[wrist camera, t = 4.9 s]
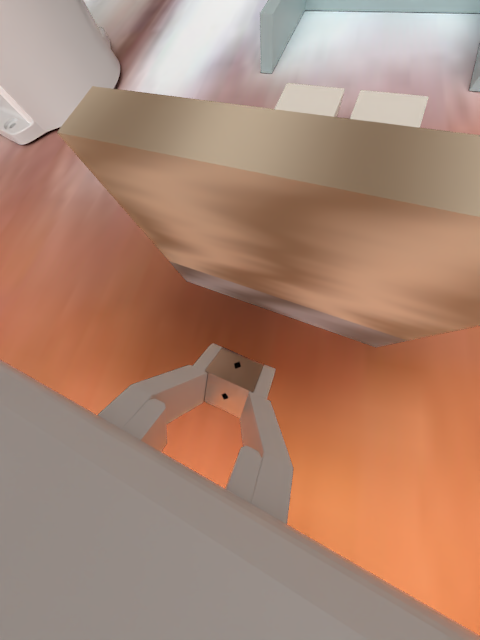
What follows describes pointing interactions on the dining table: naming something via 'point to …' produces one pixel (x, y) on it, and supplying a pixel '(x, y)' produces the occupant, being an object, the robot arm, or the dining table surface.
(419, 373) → the dining table surface
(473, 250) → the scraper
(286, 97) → the cream block
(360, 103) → the cream block
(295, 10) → the tray
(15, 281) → the dining table surface
